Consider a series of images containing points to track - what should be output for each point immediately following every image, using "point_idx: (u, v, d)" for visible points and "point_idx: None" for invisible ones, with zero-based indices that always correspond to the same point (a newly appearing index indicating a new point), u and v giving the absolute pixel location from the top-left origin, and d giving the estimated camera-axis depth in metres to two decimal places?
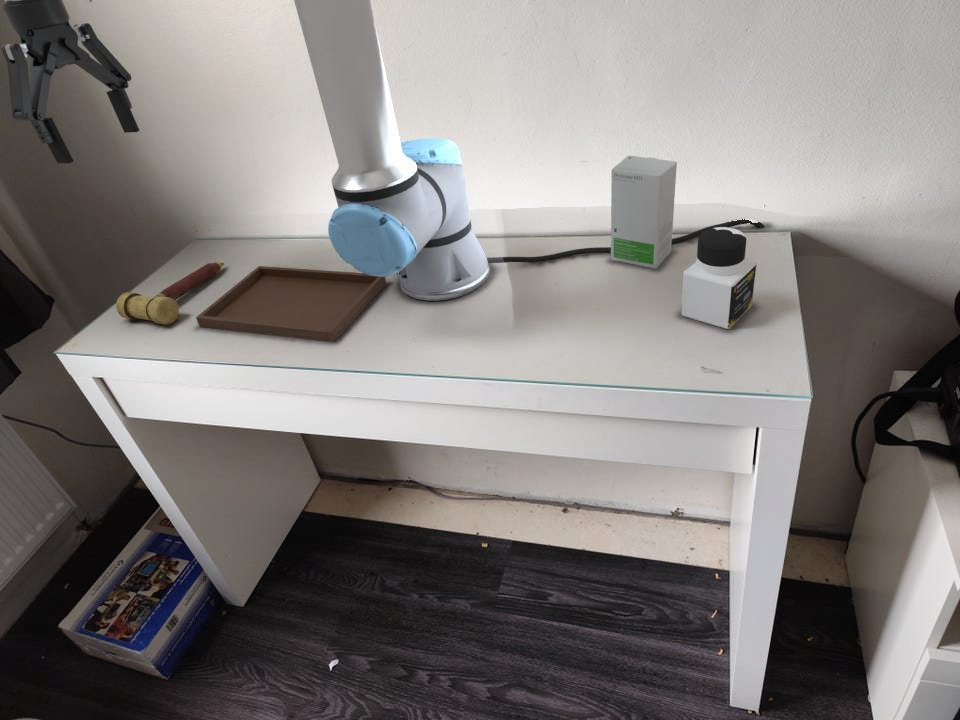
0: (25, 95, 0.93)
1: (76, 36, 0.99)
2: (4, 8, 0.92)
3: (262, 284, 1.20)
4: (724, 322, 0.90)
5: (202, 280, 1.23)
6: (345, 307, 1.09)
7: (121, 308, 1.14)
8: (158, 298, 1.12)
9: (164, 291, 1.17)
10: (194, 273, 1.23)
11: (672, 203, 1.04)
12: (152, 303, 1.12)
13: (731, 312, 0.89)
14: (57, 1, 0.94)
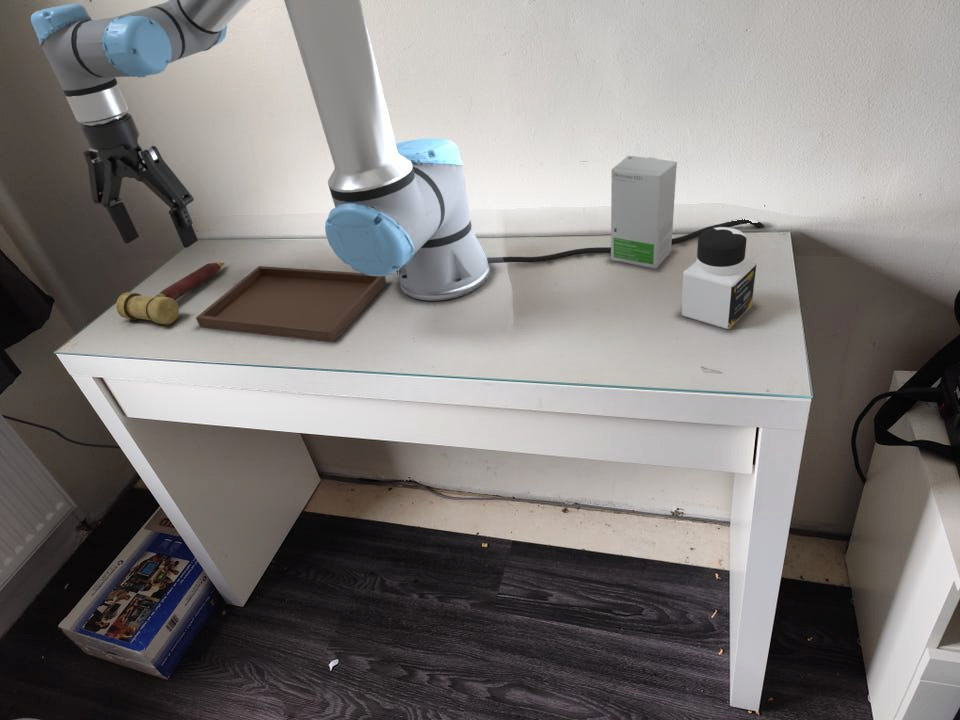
0: (93, 187, 1.12)
1: (134, 158, 1.05)
2: None
3: (262, 284, 1.20)
4: (724, 322, 0.90)
5: (202, 280, 1.23)
6: (345, 307, 1.09)
7: (121, 308, 1.14)
8: (158, 298, 1.12)
9: (164, 291, 1.17)
10: (194, 273, 1.23)
11: (672, 203, 1.04)
12: (152, 303, 1.12)
13: (731, 312, 0.89)
14: (95, 133, 1.01)
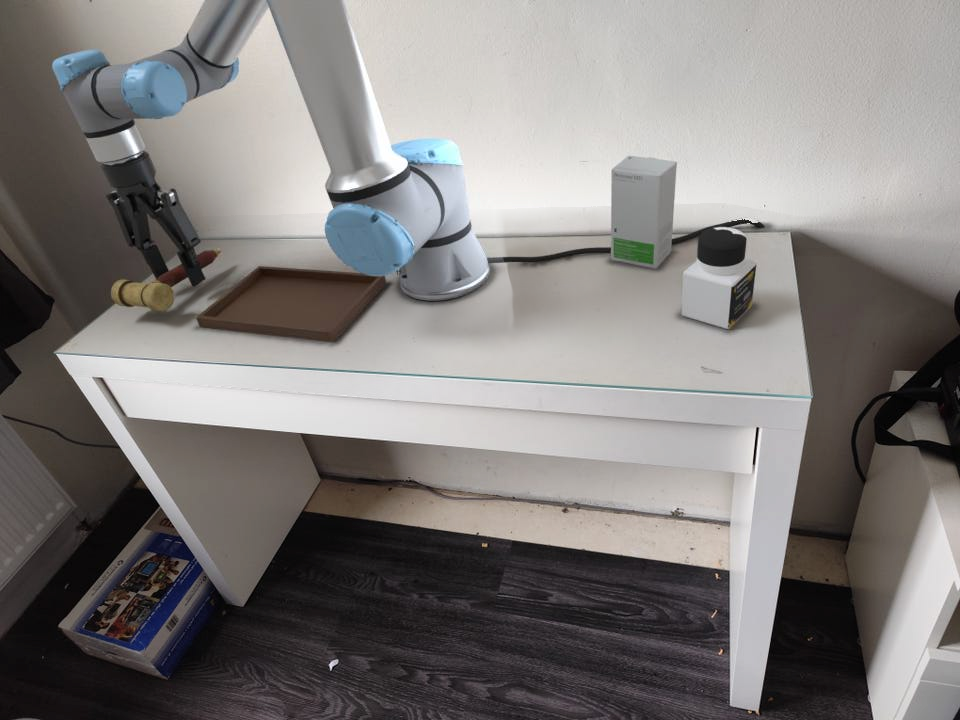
0: (124, 230, 1.16)
1: (151, 196, 1.09)
2: None
3: (262, 284, 1.20)
4: (724, 322, 0.90)
5: None
6: (345, 307, 1.09)
7: (116, 295, 1.13)
8: (153, 284, 1.11)
9: (159, 278, 1.16)
10: None
11: (672, 203, 1.04)
12: (147, 289, 1.10)
13: (731, 312, 0.89)
14: (115, 172, 1.05)
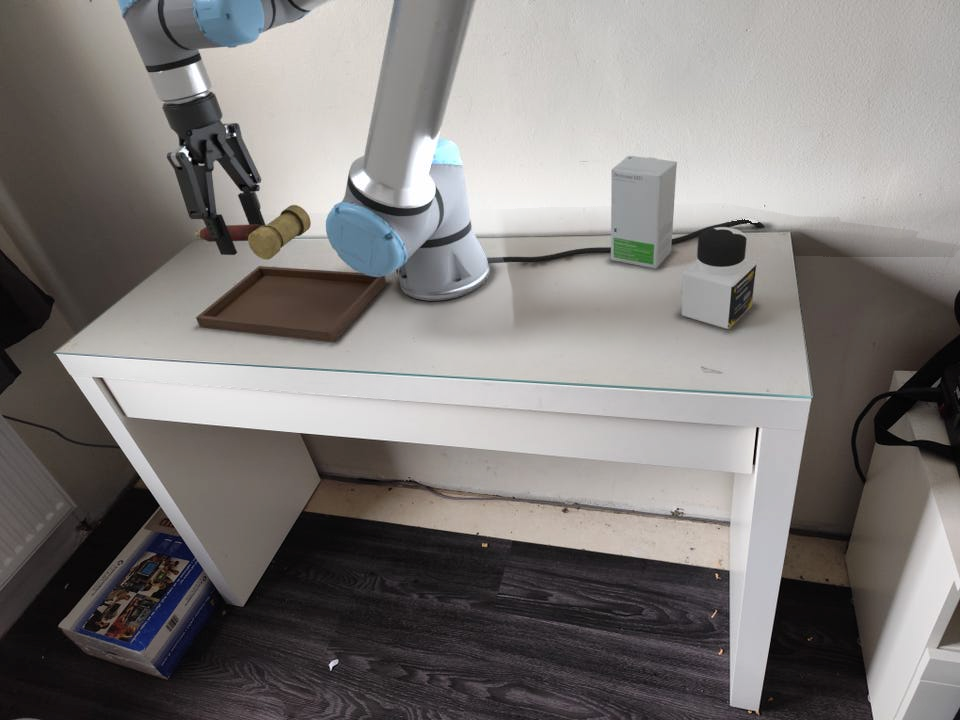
0: (198, 197, 0.97)
1: (225, 131, 1.01)
2: (166, 110, 0.94)
3: (262, 284, 1.20)
4: (724, 322, 0.90)
5: None
6: (345, 307, 1.09)
7: (275, 238, 1.00)
8: (289, 207, 1.05)
9: (258, 225, 1.05)
10: None
11: (672, 203, 1.04)
12: (294, 210, 1.05)
13: (731, 312, 0.89)
14: (214, 101, 0.96)
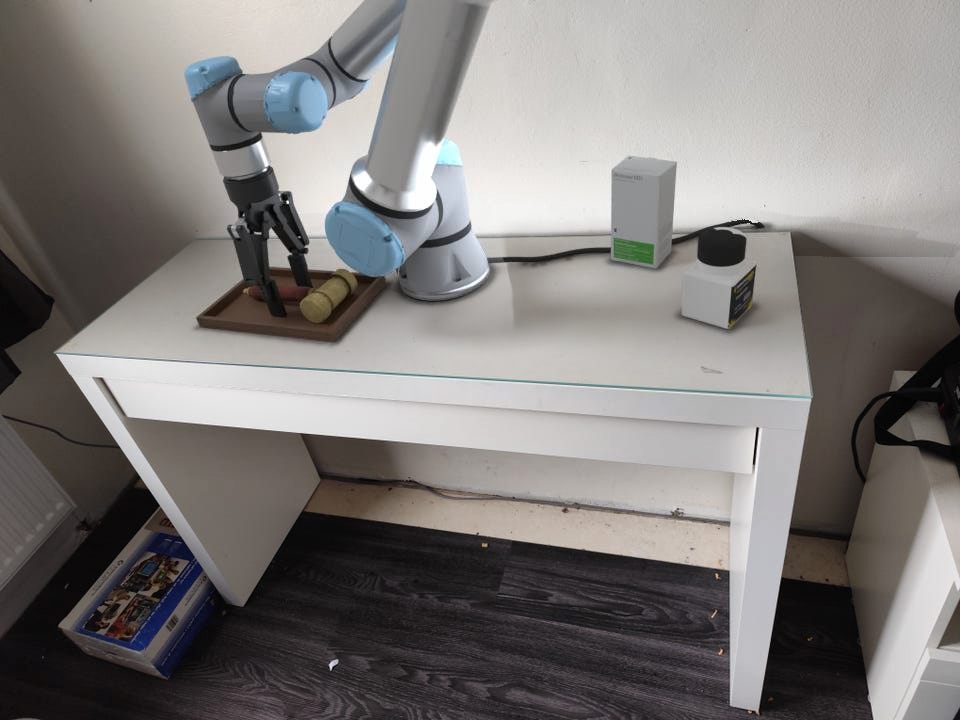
0: (254, 266, 1.02)
1: (279, 200, 1.05)
2: (227, 185, 0.98)
3: None
4: (724, 322, 0.90)
5: None
6: (345, 307, 1.09)
7: (326, 304, 1.05)
8: (337, 271, 1.10)
9: (307, 287, 1.10)
10: None
11: (672, 203, 1.04)
12: (343, 274, 1.09)
13: (731, 312, 0.89)
14: (273, 175, 1.00)
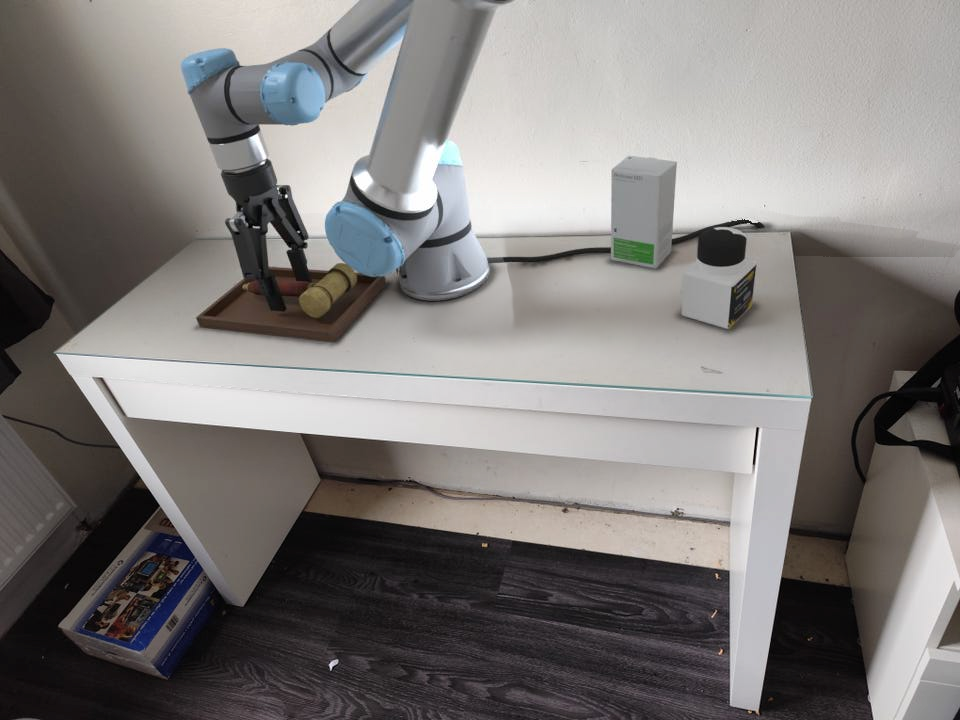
0: (253, 260, 1.01)
1: (277, 194, 1.05)
2: (225, 178, 0.97)
3: None
4: (724, 322, 0.90)
5: None
6: (345, 307, 1.09)
7: (325, 298, 1.04)
8: (337, 266, 1.09)
9: (307, 282, 1.09)
10: None
11: (672, 203, 1.04)
12: (342, 268, 1.09)
13: (731, 312, 0.89)
14: (271, 168, 0.99)
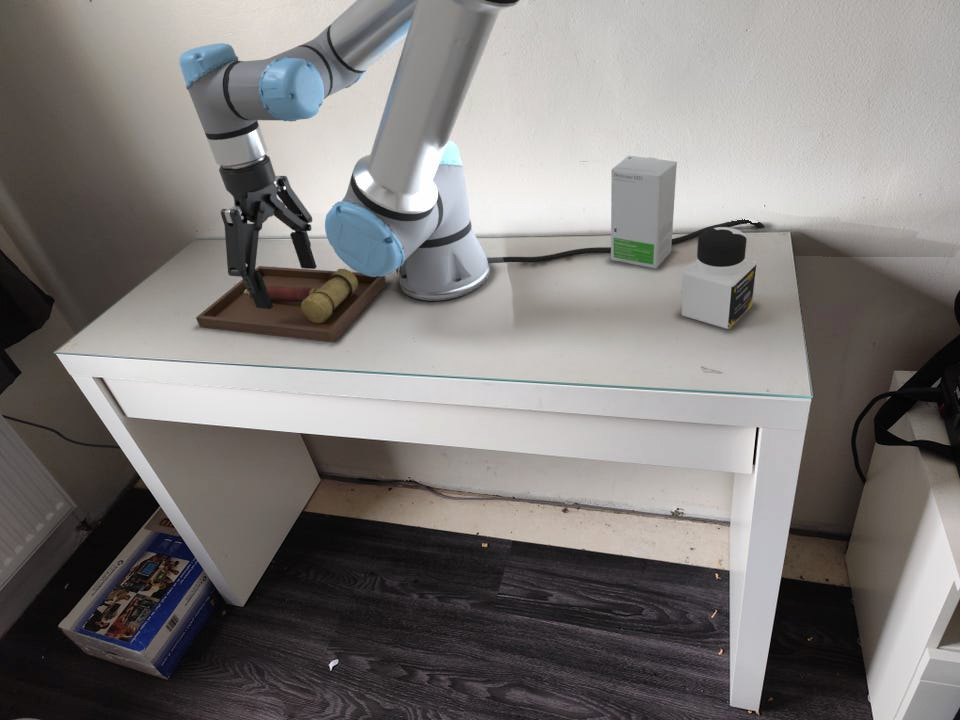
0: (241, 255, 0.99)
1: (276, 189, 1.04)
2: (223, 174, 0.97)
3: None
4: (724, 322, 0.90)
5: None
6: (345, 307, 1.09)
7: (327, 304, 1.05)
8: (338, 271, 1.10)
9: (308, 288, 1.10)
10: (275, 286, 1.13)
11: (672, 203, 1.04)
12: (344, 274, 1.09)
13: (731, 312, 0.89)
14: (269, 164, 0.99)
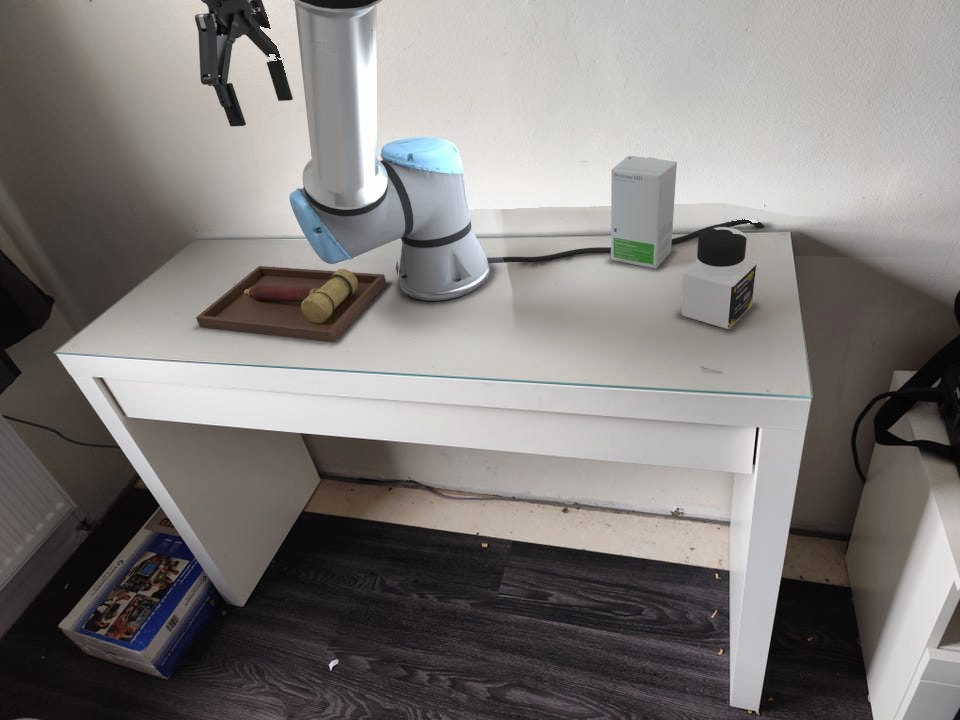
0: (214, 61, 1.02)
1: (250, 8, 1.08)
2: None
3: (262, 284, 1.20)
4: (724, 322, 0.90)
5: None
6: (345, 307, 1.09)
7: (327, 304, 1.05)
8: (338, 271, 1.10)
9: (308, 288, 1.10)
10: (275, 286, 1.13)
11: (672, 203, 1.04)
12: (344, 274, 1.09)
13: (731, 312, 0.89)
14: None
